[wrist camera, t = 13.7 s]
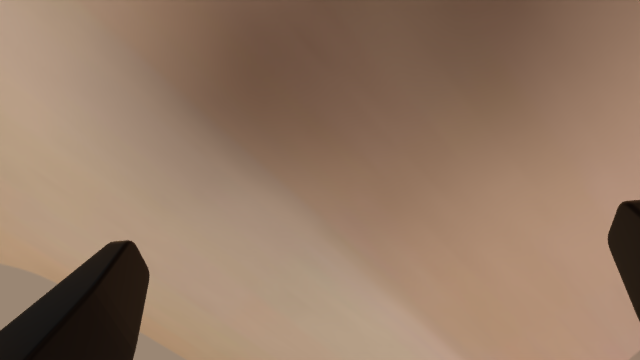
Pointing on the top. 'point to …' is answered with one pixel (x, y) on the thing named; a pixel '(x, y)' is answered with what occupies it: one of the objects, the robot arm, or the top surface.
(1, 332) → the robot arm
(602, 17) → the top surface
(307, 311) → the top surface
